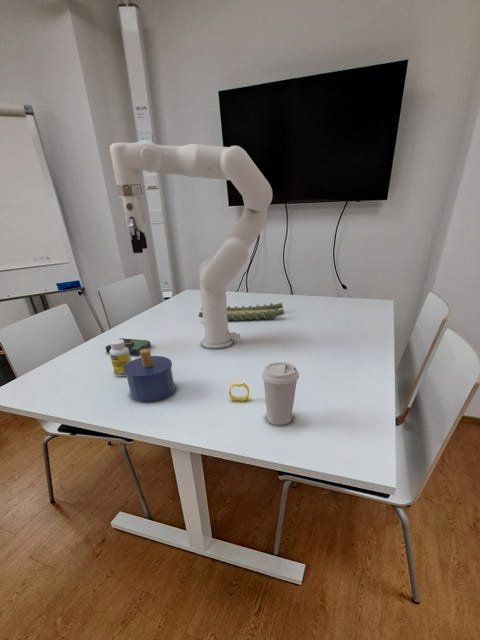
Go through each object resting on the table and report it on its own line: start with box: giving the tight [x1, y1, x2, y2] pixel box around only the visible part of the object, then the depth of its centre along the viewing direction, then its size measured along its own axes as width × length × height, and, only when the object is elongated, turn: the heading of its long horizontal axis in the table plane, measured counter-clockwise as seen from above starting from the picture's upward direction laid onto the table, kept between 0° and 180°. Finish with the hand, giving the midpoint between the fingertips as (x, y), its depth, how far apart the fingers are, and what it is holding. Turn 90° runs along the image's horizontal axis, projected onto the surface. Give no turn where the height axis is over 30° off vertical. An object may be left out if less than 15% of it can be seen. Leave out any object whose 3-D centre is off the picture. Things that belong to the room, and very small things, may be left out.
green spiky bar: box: [198, 302, 285, 322], centre depth 172 cm, size 41×14×5 cm, turn 88°
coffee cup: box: [260, 361, 300, 426], centre depth 93 cm, size 10×10×15 cm
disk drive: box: [105, 337, 152, 356], centre depth 144 cm, size 10×3×15 cm
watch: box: [228, 379, 250, 402], centre depth 105 cm, size 6×3×6 cm, turn 85°
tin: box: [125, 367, 175, 403], centre depth 112 cm, size 14×14×8 cm
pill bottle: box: [109, 338, 132, 377], centre depth 123 cm, size 6×6×12 cm
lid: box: [123, 348, 173, 378], centre depth 108 cm, size 15×15×6 cm
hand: (140, 250), depth 124 cm, fingers open, 9 cm apart
